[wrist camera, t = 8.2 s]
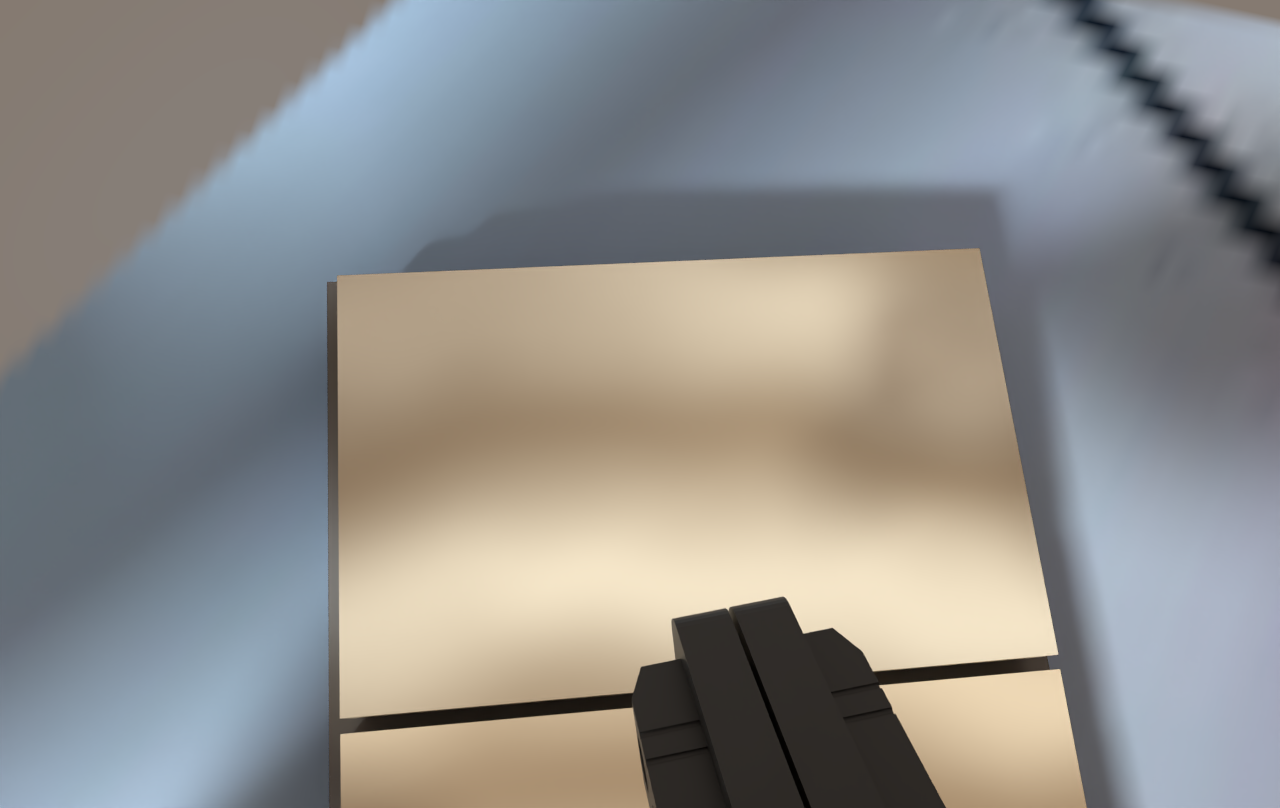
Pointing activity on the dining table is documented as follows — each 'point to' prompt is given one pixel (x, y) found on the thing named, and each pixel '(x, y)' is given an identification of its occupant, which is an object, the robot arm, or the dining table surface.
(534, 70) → the dining table surface
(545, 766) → the floor board
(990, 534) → the oak plank
